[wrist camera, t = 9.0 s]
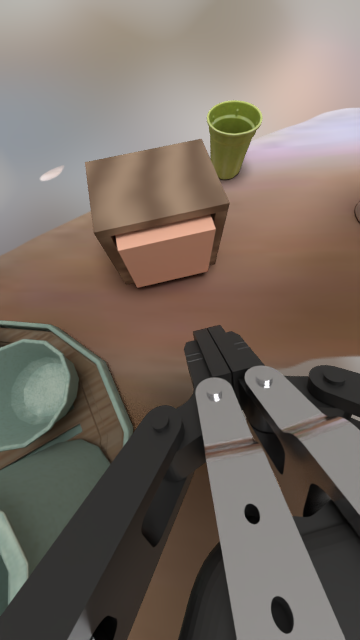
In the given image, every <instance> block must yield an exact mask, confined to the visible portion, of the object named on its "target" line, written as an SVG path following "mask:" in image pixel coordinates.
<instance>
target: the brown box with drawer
mask: <svg viewBox="0 0 360 640" xmlns="http://www.w3.org/2000/svg"><path fill="white" fill-rule="evenodd" d="M85 166H86V175H87V183H88V191H89V199H90V207H91V215H92V223H93V231H94V234H95V236H96V237H97V239H98V240H99V242H100V244H101V245H102V247H103V248H104V250H105V252H106V253H107V255H108V256H109V258H110V260H111V261H112V263H113V264H114V266H115V268H116V269H117V271H118V272H119V274H120V276H121V277H122V279H123V280H124V282H125V284H126V285H127V284H131V283H135V282H134V280H133V278H132V277H131V275H130V273H129V271H128V269H127V267H126V265H125V263H124V261H123V259H122V258H121V256H120V254H119V252H118V248H117V242H116V236H115V235H118V234H123V233H127V232H132V231H136V230H141V229H145V228H150V227H155V226H159V225H164V224H168V223H173V222H177V221H182V220H186V219H191V218H195V217H200V216H205V215H209V214H210V215H211V217H212V220H213V223H214V225H215V228H216V231H215V236H214V242H213V247H212V252H211V257H210V262H209V265H213V264H215V261H216V257H217V253H218V249H219V245H220V241H221V237H222V232H223V228H224V224H225V220H226V216H227V212H228V208H229V200H228V198H227V196H226V194H225V191H224V189H223V187H222V184H221V182H220V180H219V178H218V175H217V173H216V171H215V169H214V166H213V164H212V162H211V159H210V157H209V155H208V153H207V150H206V148H205V146H204V143H203V141H202V139H198V140H194V141H188V142H183V143H178V144H173V145H169V146H163V147H159V148H154V149H149V150H144V151H139V152H134V153H129V154H124V155H119V156H114V157H109V158H104V159H99V160H94V161H89V162H85Z"/></svg>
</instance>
